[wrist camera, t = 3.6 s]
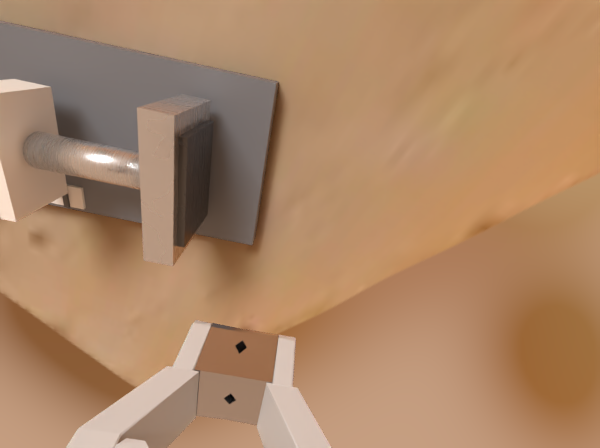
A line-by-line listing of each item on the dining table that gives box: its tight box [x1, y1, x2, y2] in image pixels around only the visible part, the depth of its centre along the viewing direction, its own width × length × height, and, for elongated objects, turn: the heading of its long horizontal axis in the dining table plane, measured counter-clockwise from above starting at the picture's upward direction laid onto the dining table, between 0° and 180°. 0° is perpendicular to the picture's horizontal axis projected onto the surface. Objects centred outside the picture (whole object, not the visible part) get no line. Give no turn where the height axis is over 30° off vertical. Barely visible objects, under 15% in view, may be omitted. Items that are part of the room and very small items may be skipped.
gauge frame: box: [0, 21, 279, 245], centre depth 18 cm, size 28×11×7 cm, turn 79°
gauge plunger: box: [23, 94, 214, 266], centre depth 18 cm, size 9×8×5 cm
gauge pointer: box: [0, 79, 68, 222], centre depth 18 cm, size 2×6×4 cm, turn 169°
